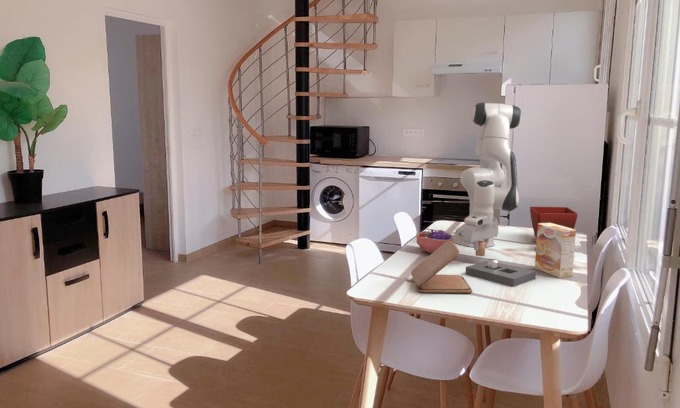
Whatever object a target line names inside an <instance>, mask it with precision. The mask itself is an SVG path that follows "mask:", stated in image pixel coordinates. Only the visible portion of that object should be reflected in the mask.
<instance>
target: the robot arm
mask: <svg viewBox="0 0 680 408" xmlns="http://www.w3.org/2000/svg"><path fill="white" fill-rule="evenodd" d="M471 118H472V122H473V123H474V124H475V125H477V126H478V127H480V128H479V131H478V135H477V141H476V146H475V155H476V156H477V157H478V158H479V162H480V164H479V165H480V166H474V167H468V168H467V169H464V170H463V171H462V172H461V174H460V184H461V185H462V187H463V188H465V190H466V192H467V195H468V199H469V215H467V216H465V217H464V220H463V221H464V222H463V224H461V225H460V226H459V227H457V228H456V229H455V232H454V236H456V237H455V239H454V242H453V244H454V243H455V244H459V245H462V246H465V247H469V248H472V247H473V250H474V251H477V250H479V246H478V241H485V242H486V244H485V249H487V248H489V247H494V246H495V242H494V238H496V237H498V236H499V222H498V218H497V217H496V216H495V215H494V210H501V211H505V212H512V211H514V210H515V209H517V208H518V206H519V204H520V196H519V188H518V172H517V160H516V156H515V152H513V151H512V150H511V147H510V136H511V135H510V131H511V130H512V129H515V128H517V127H518V126H519V125H520V122H521V121H522V118H523V116H522V110H521V108H520V107H519V106H516V105H510V104H506V103H497V102H496V103H494V102H493V103H492V102H490V103H489V102H486V103H485V102H478V103H476V104H475V105H474V107H473V109H472V112H471ZM501 164H502V165H503V166H504V167H505V170H506V176H505V172H504V170H503V169H502V167H501ZM505 178H506V184H507V186H506V187H499V186H501V185H502V184H503V183H504V182H505Z"/></svg>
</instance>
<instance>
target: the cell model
mask: <svg viewBox="0 0 680 408" xmlns="http://www.w3.org/2000/svg"><path fill="white" fill-rule="evenodd" d="M415 235H416V244H417V245H418V247H419V248H420V249H421V250H422V251H425V252H427V253H429V254H432V253H433V252H434V251H436V250H437V249H438V248H439V247H440V246H442V245H443V244H444V243H445V242H447V241H451V242H452V243H453V244H454V239H455V237H456V236H454V235H455V234H454V235H453V234H452V233H449V232H446V231H445V230H442V229H439V230H438V231H434V229H431V230H430V231H426V230H424V231H421V232H417V233H415Z"/></svg>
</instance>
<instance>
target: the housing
mask: <svg viewBox="0 0 680 408" xmlns="http://www.w3.org/2000/svg"><path fill="white" fill-rule="evenodd" d="M465 275H468V276H471V277H476V278H480V279H483V280H486V281H487V280H488V281H491V282H494V283H498V284H502V285H505V286H509V287H517V286H520V285H521V284H525V283H527V282H531V281H533V280H536V275H537V271H536V270H533V269H532V270H531V269H527V268H525V267H523V268H522V267H518V266H514V265H511V264H510V265H509V264H506V263H502V262H498V269H496V270H493V269H489V268H488V259H487V260H485V261H482V262H478V263H475V264H471V265H468V266H465Z"/></svg>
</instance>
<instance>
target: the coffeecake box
mask: <svg viewBox="0 0 680 408" xmlns="http://www.w3.org/2000/svg"><path fill="white" fill-rule="evenodd" d="M576 233H577V229H575V228H574V229H571V228H568V227H564V226H561V225H557V224H553V223H538V227H537V239H536V241H535V242H536V243H535V244H536V246H535V257H534V258H535V259H534V269H536V270H538V271H541V272H544V273H546V274H548V275H551V276H554V277H556V278H560V279H561V278H569V277H573V273H574V261H575V246H576V244H575V243H576Z"/></svg>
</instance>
